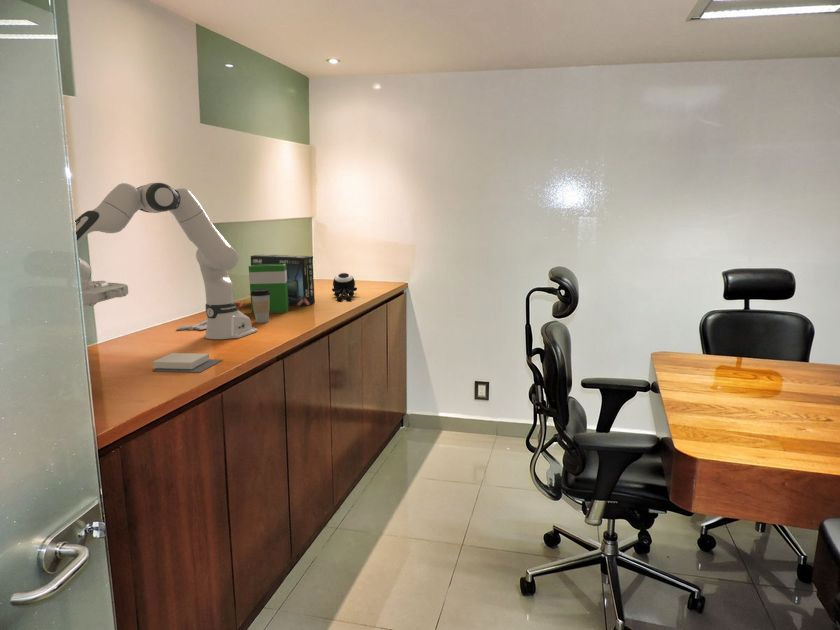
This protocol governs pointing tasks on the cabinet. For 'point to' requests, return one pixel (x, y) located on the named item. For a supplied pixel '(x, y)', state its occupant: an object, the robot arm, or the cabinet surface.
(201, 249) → the robot arm
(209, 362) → the rubber mat
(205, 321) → the driftwood branch
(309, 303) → the router box
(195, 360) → the ceramic tile
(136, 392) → the cabinet surface
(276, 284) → the green cereal box
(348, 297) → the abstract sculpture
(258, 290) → the coffee cup
